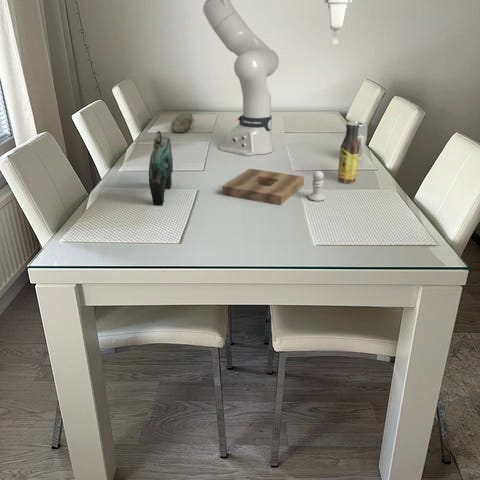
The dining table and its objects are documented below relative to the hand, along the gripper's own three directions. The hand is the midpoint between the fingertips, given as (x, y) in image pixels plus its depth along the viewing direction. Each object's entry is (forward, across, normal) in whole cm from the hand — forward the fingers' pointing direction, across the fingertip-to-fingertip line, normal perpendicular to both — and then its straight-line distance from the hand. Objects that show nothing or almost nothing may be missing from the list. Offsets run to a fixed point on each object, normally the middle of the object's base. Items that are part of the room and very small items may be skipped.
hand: (335, 43), depth 165 cm
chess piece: (+43, +34, -2) cm, 55 cm away
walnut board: (+43, +29, -20) cm, 55 cm away
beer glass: (+43, -6, +10) cm, 45 cm away
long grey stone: (+42, -56, -72) cm, 101 cm away
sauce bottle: (+43, +16, +7) cm, 46 cm away
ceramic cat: (+43, +39, -50) cm, 77 cm away
